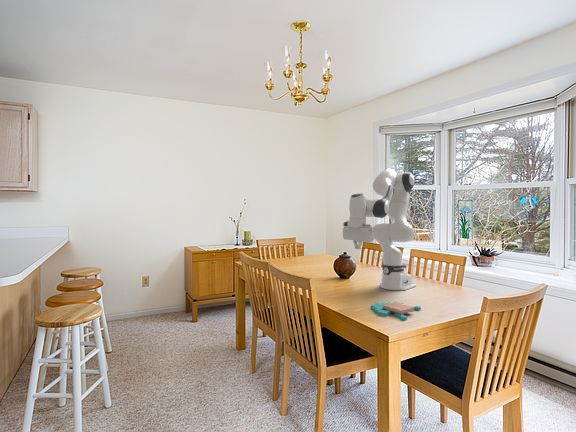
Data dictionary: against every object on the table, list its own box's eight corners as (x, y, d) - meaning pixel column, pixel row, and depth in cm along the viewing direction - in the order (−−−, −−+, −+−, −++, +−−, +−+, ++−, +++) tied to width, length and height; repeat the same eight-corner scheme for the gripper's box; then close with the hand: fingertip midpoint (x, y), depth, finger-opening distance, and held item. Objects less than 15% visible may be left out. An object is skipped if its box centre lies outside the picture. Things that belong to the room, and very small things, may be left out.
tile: (395, 301, 177) (413, 307, 168) (395, 305, 177) (413, 310, 168) (382, 305, 172) (401, 310, 163) (382, 308, 172) (401, 314, 163)
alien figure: (420, 311, 175) (382, 303, 187) (420, 306, 174) (382, 299, 187) (405, 322, 159) (364, 313, 172) (405, 317, 159) (364, 308, 172)
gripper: (376, 224, 187) (376, 250, 187) (349, 222, 204) (349, 246, 204) (367, 224, 183) (367, 251, 184) (340, 222, 200) (340, 247, 201)
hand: (357, 249), depth 194 cm, fingers closed
